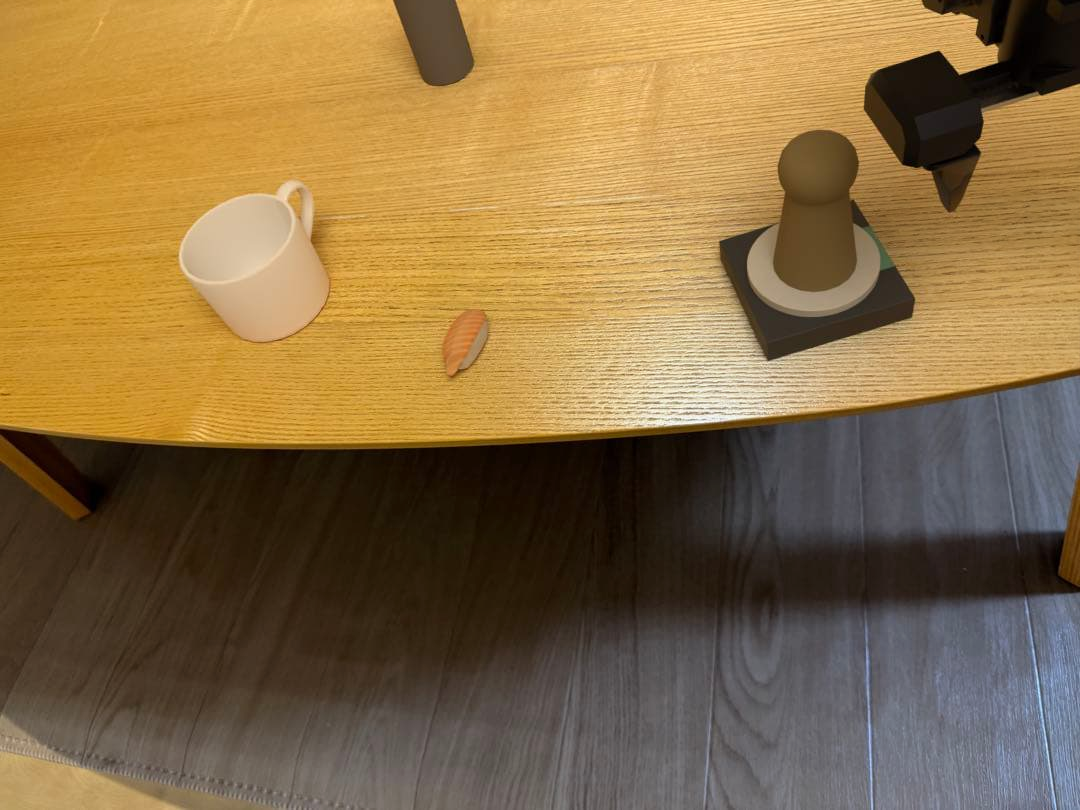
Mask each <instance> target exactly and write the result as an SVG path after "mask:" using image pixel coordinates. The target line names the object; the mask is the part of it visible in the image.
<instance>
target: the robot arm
mask: <svg viewBox="0 0 1080 810" xmlns="http://www.w3.org/2000/svg"><path fill="white" fill-rule="evenodd" d="M921 3H922V6H923V7H924V8H925V9H926V10H929V11H931V12H934V13H936V14H938V15H941V16H943V15H948V14H950V13H952V14H953V15H955V16H958V15H960V14H962V15H965V16H967V17H970V18H971V19H975V20H976V21H977V23H976V29H975V36H976V38H977V39H979V41H980V42H981V43H982V44H983V46H985V47H990V46H992V45H995V47H996V48H997V50H998V51H997V55H996V59H997V62H995V63H992V64H989V65H985V66H982V67H980V68H976V69H972V70H969V71H966V72H964V73H959V72H958V70H956V69H955V67H954V66H953V65H952V63H950V61H949V60H948V59H947V57H946V56H945V55H944V54H943V53H942V51H941V50H936V51H933V52H929V53H926V54H924V55H920V56H917V57H913V58H910V59H907V60H904V61H901V62H899V63H895V64H891V65H889V66H885V67H882V68H878V70H876V71H874V72H872V73H870V75H869V77H868V80H867V81H866V84H865V86H864V98H863V99H864V100H863V111H864V112H865V114H866V116H867V117H868V118H869V120H870V121H871V123H872V124H873V125H874V127H875V128H876V129H877V131H878V133H879V134H880V135H881V137H882V138H883V140H884V142H885V143H886V144H887V146H888V147H889V149H891V151H892V153H893V154H894V155H895V157H896V158H897V160H898V162H899V163H900V164H901V165H902V166H905V167H909V168H913V169H920V168H922V169H923V170H925V171H927V172H931V175H932V178H933V181H934V185H935V188H936V191H937V195H938V197H939V200H940V203H941V205H942V206H943V207H944V209H945V210H946V212H947V213H953V212H955V211H956V210H957V208H958V207H959V205H960V204H961V202H962V201H963V199H964V196H965V194H966V192H967V189H968V186H969V184H970V182H971V179H972V177H973V175H974V172H975V170H976V167H977V165H978V162H979V160H980V157H981V155H982V151H981V150H980V148H979V147H978V146H977V145H976V143H977V142H979V140H980V139H981V137H982V133H983V128H984V123H985V120H984V117H983V114H984V113H987V112H990V111H993V110H996V109H1000V108H1003V107H1006V106H1010V105H1014V104H1016V103H1019V102H1022V101H1025V100H1028V99H1032V98H1035V97H1039V96H1041V97H1042V96H1045V95H1046V96H1047V95H1049V94H1052V93H1055V92H1059V91H1061V90H1065V89H1068V88H1071V87H1075V86H1078V85H1080V0H921Z"/></svg>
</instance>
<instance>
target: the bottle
mask: <svg viewBox="0 0 1080 810" xmlns="http://www.w3.org/2000/svg"><path fill="white" fill-rule="evenodd" d="M392 1H393V4H394V7H395V9H396V13H397V15H398V18H399V20H400V24H401V26H402V29H403V31H404V34H405V36H406V39H407V42H408V44H409V47H410V50H411V52H412V55H413V58H414V60H415V64H416V66H417V69H418V71H419V73H420V76H421V78H422V80H423V81H424V82H425V83H427V84H429V85H431V86H447V85H451V84H454V83H457V82H458V81H460V80H462V79H464V78H465V77H466V76H468V75H469V74H470V72H471V71H472V69H473V68H474V66H475V65H474V64H475V60H474V59H475V58H474V56H473V52H472V48H471V46H470V43H469V39H468V35H467V32H466V28H465V25H464V22H463V19H462V16H461V14H460V10H459V7H458V4H457V0H392Z"/></svg>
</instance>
